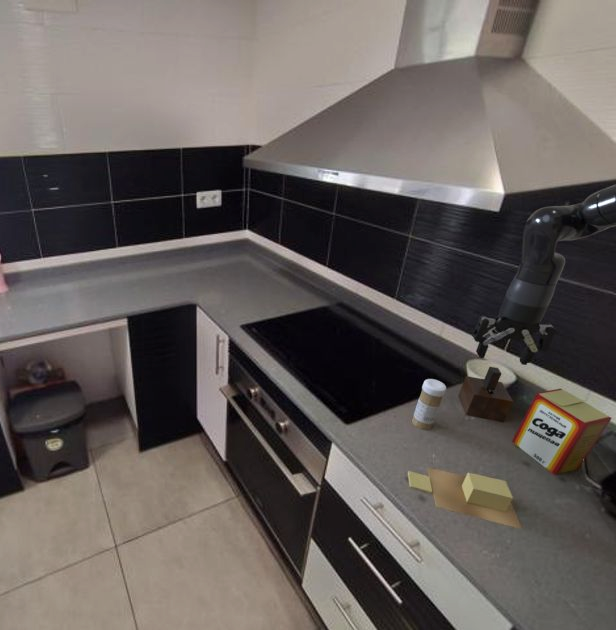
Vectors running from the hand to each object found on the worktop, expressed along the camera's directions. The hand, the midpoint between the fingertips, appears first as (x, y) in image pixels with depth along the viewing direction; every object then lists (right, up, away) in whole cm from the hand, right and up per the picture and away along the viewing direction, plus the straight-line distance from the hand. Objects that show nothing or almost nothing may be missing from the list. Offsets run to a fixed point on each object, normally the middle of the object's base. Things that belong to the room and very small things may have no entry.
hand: (501, 359), depth 91 cm
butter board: (-19, -26, -15) cm, 36 cm away
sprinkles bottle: (-18, -17, +3) cm, 25 cm away
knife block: (0, -15, +7) cm, 16 cm away
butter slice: (-25, -25, -13) cm, 38 cm away
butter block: (-17, -26, -16) cm, 35 cm away
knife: (0, -13, +7) cm, 15 cm away
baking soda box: (+4, -22, -6) cm, 23 cm away
